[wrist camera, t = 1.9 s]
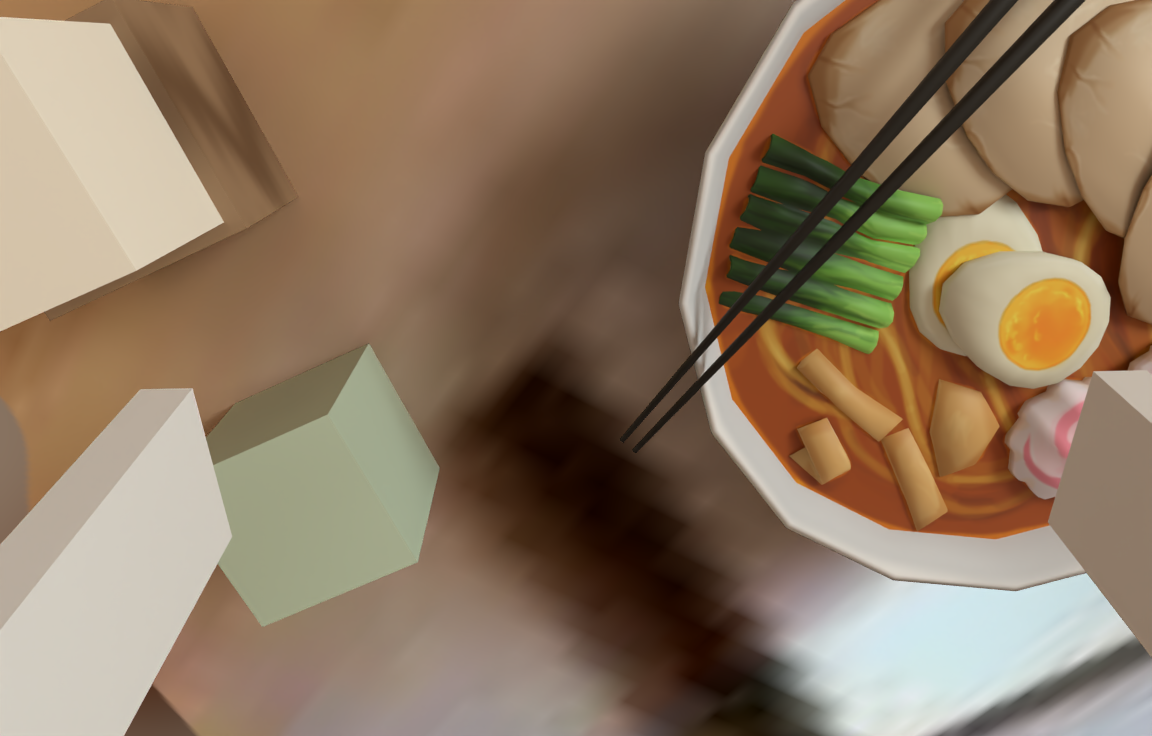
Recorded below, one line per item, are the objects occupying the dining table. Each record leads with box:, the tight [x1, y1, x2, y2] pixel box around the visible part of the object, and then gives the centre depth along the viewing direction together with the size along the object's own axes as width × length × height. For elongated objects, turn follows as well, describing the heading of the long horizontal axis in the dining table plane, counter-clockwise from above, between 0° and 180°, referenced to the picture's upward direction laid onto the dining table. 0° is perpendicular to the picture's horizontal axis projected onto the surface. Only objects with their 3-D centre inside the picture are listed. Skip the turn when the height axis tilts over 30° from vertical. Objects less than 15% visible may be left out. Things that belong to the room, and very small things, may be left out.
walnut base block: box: [44, 0, 299, 321], centre depth 28 cm, size 7×7×6 cm
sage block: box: [206, 344, 440, 627], centre depth 31 cm, size 6×6×7 cm
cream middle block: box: [0, 17, 224, 331], centre depth 22 cm, size 6×6×6 cm
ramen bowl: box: [620, 0, 1152, 591], centre depth 29 cm, size 25×23×8 cm
